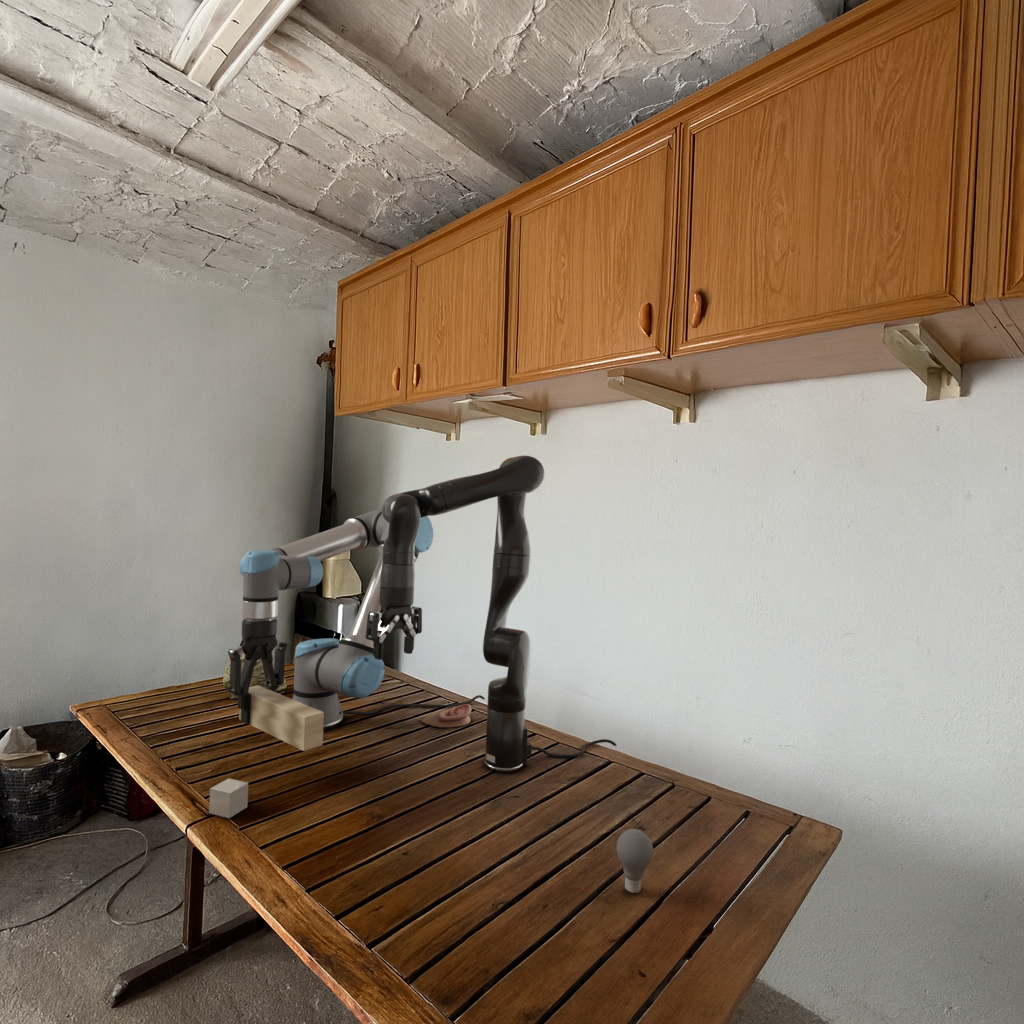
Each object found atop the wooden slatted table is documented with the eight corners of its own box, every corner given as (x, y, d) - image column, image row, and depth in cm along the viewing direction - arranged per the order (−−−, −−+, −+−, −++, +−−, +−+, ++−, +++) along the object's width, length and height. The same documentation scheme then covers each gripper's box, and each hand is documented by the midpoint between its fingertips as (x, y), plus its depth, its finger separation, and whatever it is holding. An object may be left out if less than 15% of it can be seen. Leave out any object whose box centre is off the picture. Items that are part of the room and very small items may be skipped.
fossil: (218, 695, 195) (220, 647, 195) (278, 685, 208) (279, 640, 207) (228, 703, 189) (230, 653, 188) (289, 692, 201) (290, 645, 201)
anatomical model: (418, 710, 178) (431, 698, 189) (418, 724, 178) (431, 711, 189) (464, 716, 175) (474, 703, 186) (463, 730, 175) (474, 716, 186)
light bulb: (610, 879, 108) (613, 822, 108) (644, 879, 109) (647, 822, 109) (619, 902, 102) (622, 840, 102) (655, 901, 103) (658, 840, 103)
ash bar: (239, 719, 145) (240, 689, 145) (257, 714, 149) (258, 685, 149) (303, 751, 129) (305, 717, 129) (322, 745, 133) (323, 712, 132)
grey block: (227, 802, 130) (228, 778, 130) (247, 807, 128) (248, 782, 128) (208, 813, 125) (209, 788, 125) (229, 818, 123) (230, 793, 123)
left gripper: (285, 611, 154) (282, 707, 154) (213, 620, 140) (210, 725, 140) (303, 616, 149) (299, 714, 149) (230, 625, 135) (227, 734, 136)
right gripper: (409, 580, 149) (406, 648, 149) (360, 583, 138) (357, 657, 138) (432, 583, 144) (428, 654, 144) (383, 587, 133) (379, 664, 133)
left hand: (256, 719), depth 145 cm, fingers closed on ash bar, 4 cm apart
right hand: (393, 656), depth 141 cm, fingers open, 8 cm apart
